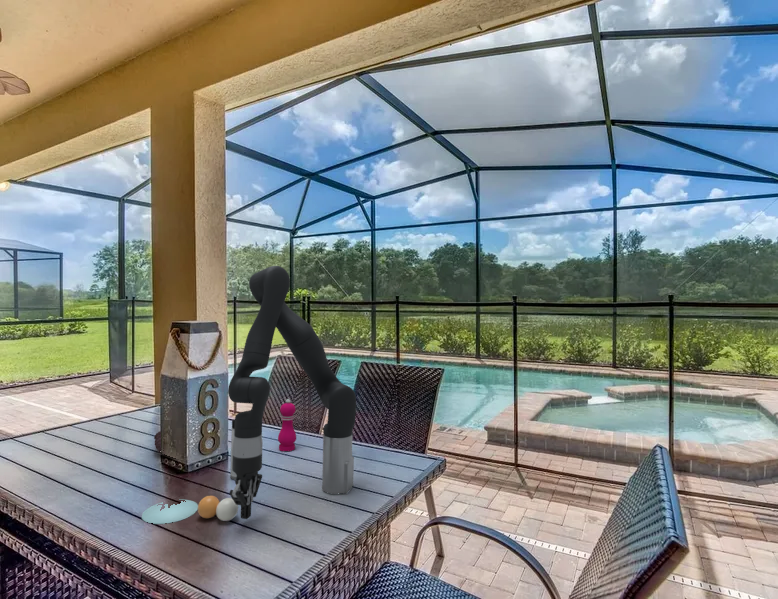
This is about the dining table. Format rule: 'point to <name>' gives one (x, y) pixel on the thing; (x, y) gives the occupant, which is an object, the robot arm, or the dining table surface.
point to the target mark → (169, 512)
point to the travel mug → (233, 474)
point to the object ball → (208, 506)
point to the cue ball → (226, 509)
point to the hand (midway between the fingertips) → (245, 517)
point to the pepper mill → (287, 427)
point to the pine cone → (158, 441)
